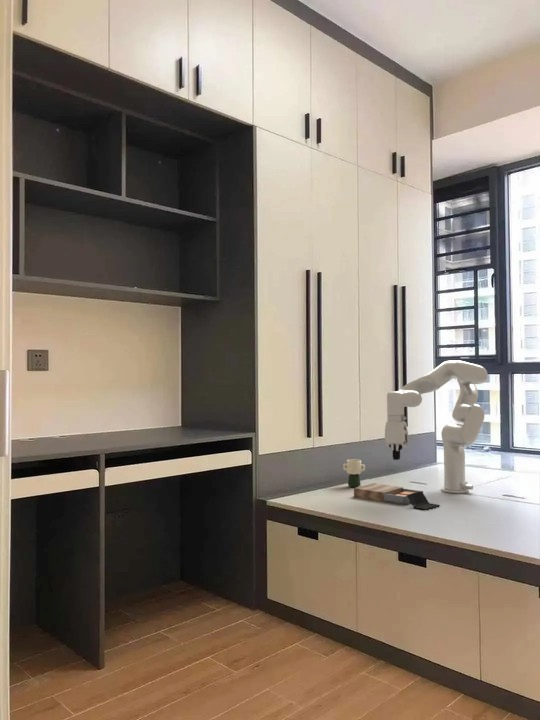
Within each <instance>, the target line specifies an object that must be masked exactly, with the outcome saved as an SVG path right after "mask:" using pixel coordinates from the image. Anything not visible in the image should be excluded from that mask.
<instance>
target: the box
mask: <svg viewBox="0 0 540 720" xmlns="http://www.w3.org/2000/svg"><path fill="white" fill-rule="evenodd" d="M405 491H407V492H414V493H417V492H421V491H422V492H423V493H424V491H423V490H417V489H410V488H409V489H408V488H404V487H403V489H402V492H405ZM388 502H390V504H395V503H396V505H401V504H402V506H406V505H408V503H409V504H411V502H410V500H409V499H408V497H407V495H406V496H398V495H392V494H384V502H383V503H388Z"/></svg>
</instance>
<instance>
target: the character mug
mask: <svg viewBox="0 0 540 720" xmlns="http://www.w3.org/2000/svg"><path fill="white" fill-rule="evenodd" d="M342 467H343V471H346V473H347V474H348V481H347V485H348V487H350V488H351V487H352V488H356V487H360V486H362V483H361V477H360V475H359V474H362V472H365V471H366V465H365V464H362V460H361V459H354V458H353V459H347V460H346V463H343V465H342Z"/></svg>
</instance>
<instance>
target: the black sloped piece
mask: <svg viewBox="0 0 540 720" xmlns="http://www.w3.org/2000/svg"><path fill="white" fill-rule="evenodd" d="M420 491H421V492H417V493H412V494H408V495H407V497H408V499H409V500H410V502H411V503H410V504H411V505H412V507H413V508H414V509H413V510H418V509H419V510H420V511H423V510H427V511H430V510H429V509H431V510H433V508H434V509H437V508H436V507H438V508H440V507H441V505H440V504H436V503H430V502H429V500H428V499H427V497H426V496H425V494H424V491H423V490H420ZM422 491H423V492H422ZM439 506H440V507H439Z"/></svg>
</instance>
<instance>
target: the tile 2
mask: <svg viewBox="0 0 540 720" xmlns="http://www.w3.org/2000/svg"><path fill="white" fill-rule="evenodd" d="M412 493H414V492H407V491H405V492H402V493H400V495H408V494H412Z"/></svg>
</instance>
